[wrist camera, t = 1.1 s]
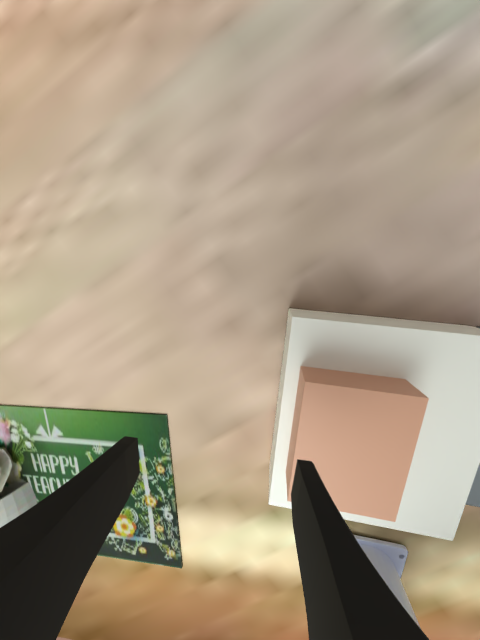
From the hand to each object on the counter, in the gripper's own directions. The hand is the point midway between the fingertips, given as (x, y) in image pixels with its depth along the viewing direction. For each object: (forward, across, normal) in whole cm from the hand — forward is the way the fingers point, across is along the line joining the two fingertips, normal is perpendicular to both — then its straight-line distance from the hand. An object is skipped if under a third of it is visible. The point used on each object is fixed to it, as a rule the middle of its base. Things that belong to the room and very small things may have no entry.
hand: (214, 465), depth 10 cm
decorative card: (+12, +22, +19) cm, 32 cm away
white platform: (+11, -11, +3) cm, 16 cm away
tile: (+6, -8, +3) cm, 10 cm away
